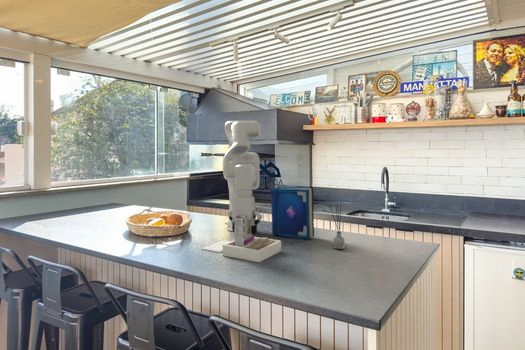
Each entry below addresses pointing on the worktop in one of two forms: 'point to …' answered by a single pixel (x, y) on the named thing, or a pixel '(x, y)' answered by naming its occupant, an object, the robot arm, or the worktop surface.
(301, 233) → the book
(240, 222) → the candy bar box
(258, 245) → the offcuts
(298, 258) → the worktop surface
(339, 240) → the reed diffuser
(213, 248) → the mat
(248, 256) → the box
